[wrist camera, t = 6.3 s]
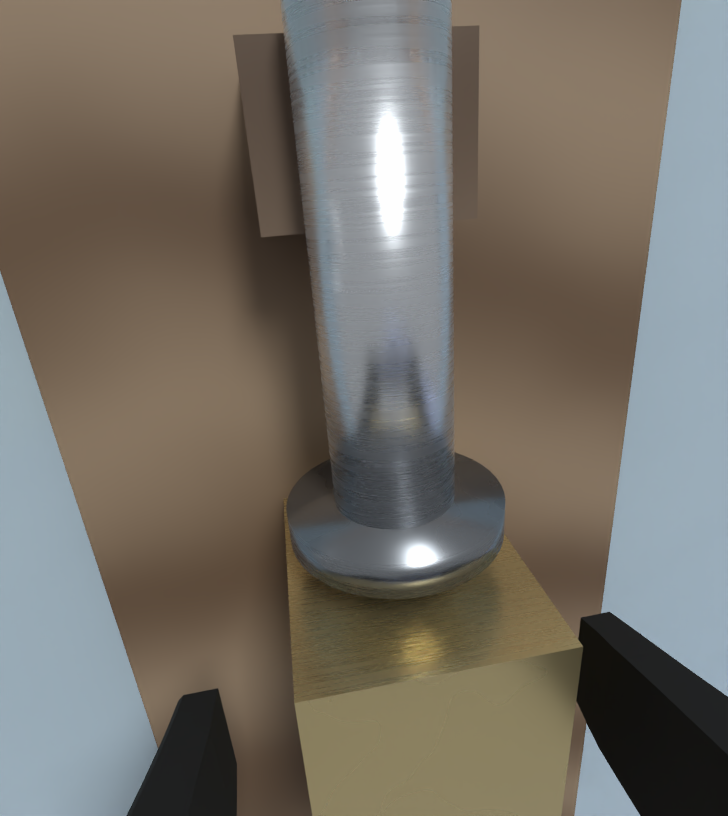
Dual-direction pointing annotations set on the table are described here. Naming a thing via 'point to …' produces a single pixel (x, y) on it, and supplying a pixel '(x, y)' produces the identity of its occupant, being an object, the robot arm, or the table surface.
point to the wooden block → (434, 696)
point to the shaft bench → (310, 310)
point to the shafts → (383, 303)
